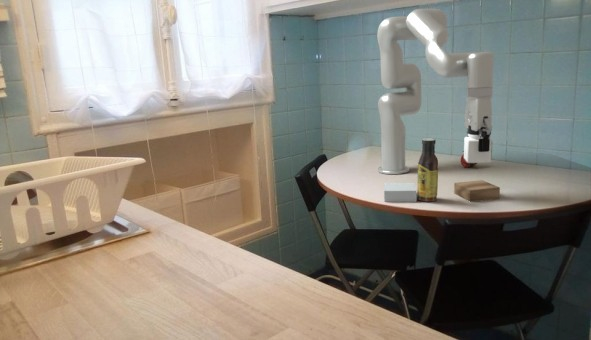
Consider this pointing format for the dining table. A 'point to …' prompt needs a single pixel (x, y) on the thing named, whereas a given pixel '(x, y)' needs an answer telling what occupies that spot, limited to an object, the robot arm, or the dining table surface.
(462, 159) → the pomegranate
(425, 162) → the sauce bottle
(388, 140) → the robot arm
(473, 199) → the walnut block
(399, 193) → the grey block
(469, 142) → the medicine bottle
